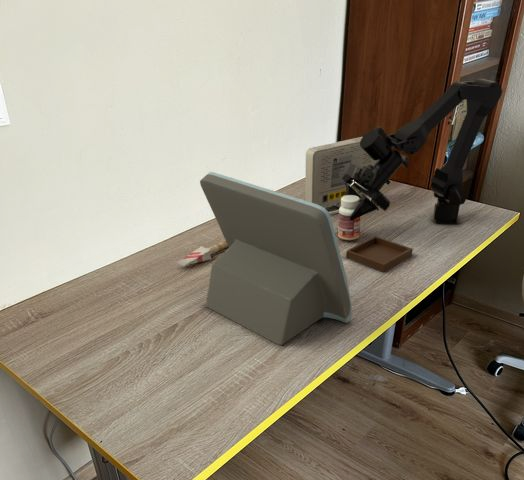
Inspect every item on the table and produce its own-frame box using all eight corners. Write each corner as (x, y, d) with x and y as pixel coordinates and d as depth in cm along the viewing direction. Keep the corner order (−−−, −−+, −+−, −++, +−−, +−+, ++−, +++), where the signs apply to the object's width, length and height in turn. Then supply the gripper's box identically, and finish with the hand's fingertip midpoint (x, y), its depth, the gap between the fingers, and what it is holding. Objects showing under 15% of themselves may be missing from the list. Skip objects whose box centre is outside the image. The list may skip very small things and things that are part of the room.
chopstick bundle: (174, 257, 148) (227, 235, 160) (175, 266, 149) (227, 244, 162) (184, 261, 146) (236, 238, 158) (185, 270, 147) (237, 247, 160)
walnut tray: (374, 242, 158) (375, 235, 157) (411, 255, 151) (412, 248, 150) (346, 258, 151) (346, 250, 150) (383, 272, 144) (384, 264, 143)
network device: (363, 193, 190) (367, 133, 179) (380, 201, 184) (385, 139, 172) (301, 210, 180) (301, 147, 168) (316, 218, 174) (318, 153, 162)
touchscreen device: (355, 318, 126) (362, 190, 108) (298, 358, 116) (295, 224, 98) (249, 270, 147) (239, 156, 129) (192, 301, 136) (173, 181, 118)
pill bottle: (357, 241, 157) (359, 203, 151) (335, 239, 159) (337, 201, 152) (360, 232, 162) (363, 195, 156) (340, 230, 164) (341, 193, 157)
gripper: (349, 143, 155) (313, 188, 159) (383, 162, 141) (342, 211, 144) (372, 167, 162) (337, 210, 165) (407, 187, 147) (367, 233, 151)
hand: (345, 215), depth 156 cm, fingers closed on pill bottle, 6 cm apart
